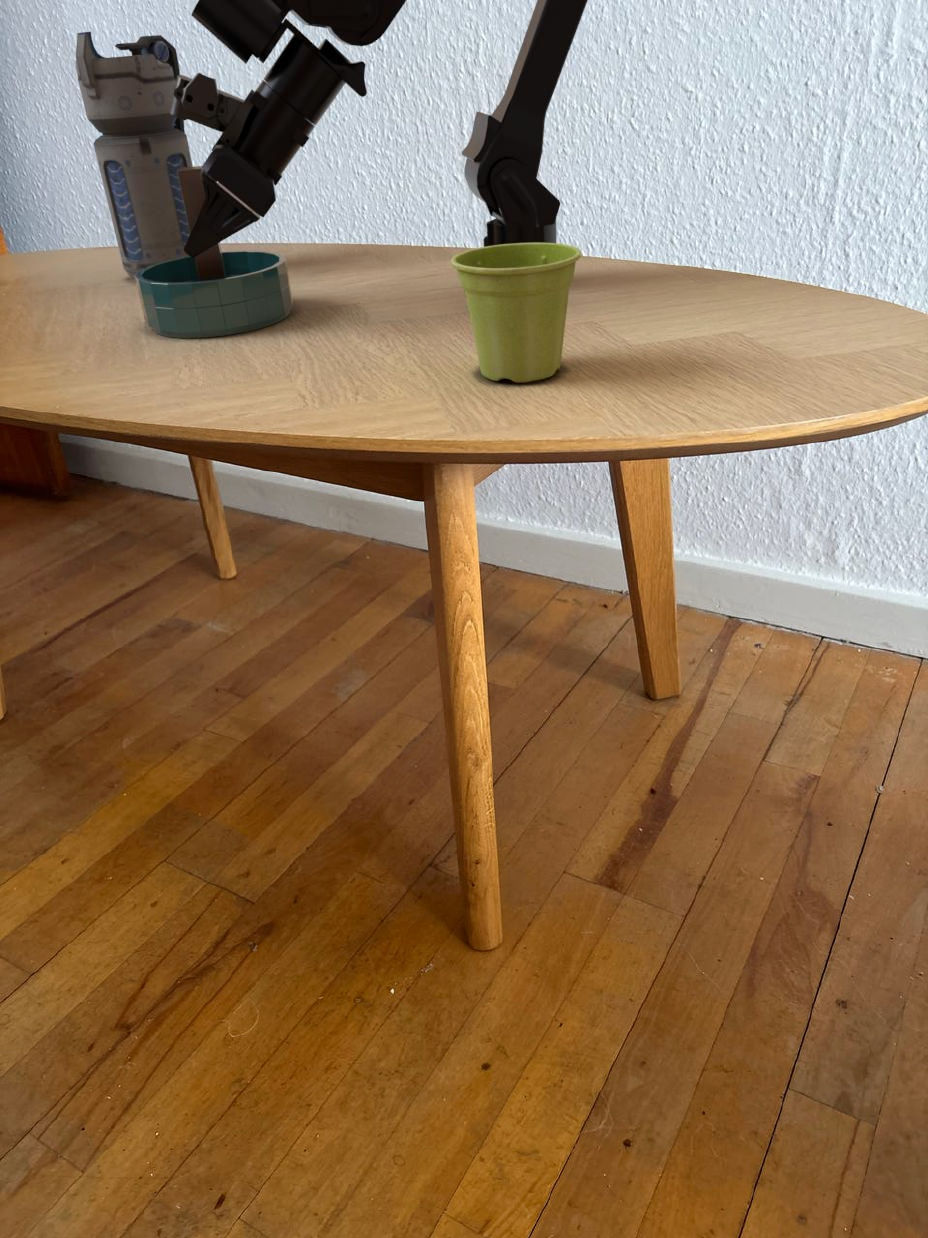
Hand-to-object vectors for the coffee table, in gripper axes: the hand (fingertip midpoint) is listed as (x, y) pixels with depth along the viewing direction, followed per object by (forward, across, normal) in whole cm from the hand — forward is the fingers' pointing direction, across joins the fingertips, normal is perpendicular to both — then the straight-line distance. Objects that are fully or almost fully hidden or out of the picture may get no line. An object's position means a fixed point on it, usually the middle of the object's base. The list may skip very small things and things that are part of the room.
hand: (191, 244), depth 91 cm
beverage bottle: (+9, -26, +1) cm, 27 cm away
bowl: (+4, 0, +6) cm, 7 cm away
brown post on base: (+4, 0, +6) cm, 7 cm away
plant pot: (-13, +28, +23) cm, 38 cm away
